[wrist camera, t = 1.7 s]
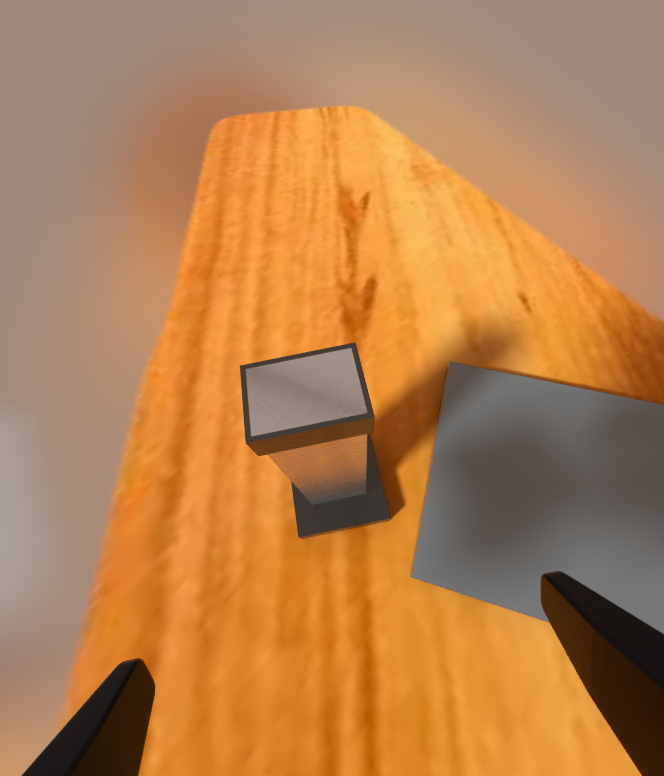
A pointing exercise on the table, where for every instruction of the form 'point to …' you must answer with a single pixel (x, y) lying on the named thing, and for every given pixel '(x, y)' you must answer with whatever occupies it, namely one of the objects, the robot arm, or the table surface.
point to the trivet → (544, 493)
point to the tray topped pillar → (317, 436)
